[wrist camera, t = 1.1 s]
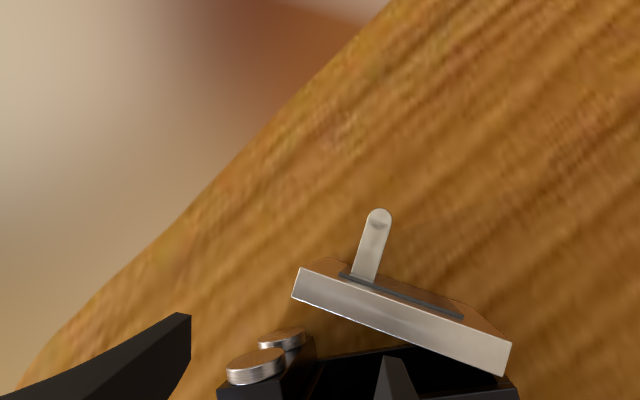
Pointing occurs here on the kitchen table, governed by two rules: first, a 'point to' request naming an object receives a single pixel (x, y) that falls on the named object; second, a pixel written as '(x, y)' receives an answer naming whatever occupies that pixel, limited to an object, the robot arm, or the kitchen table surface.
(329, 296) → the door
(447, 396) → the microwave
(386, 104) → the kitchen table surface
